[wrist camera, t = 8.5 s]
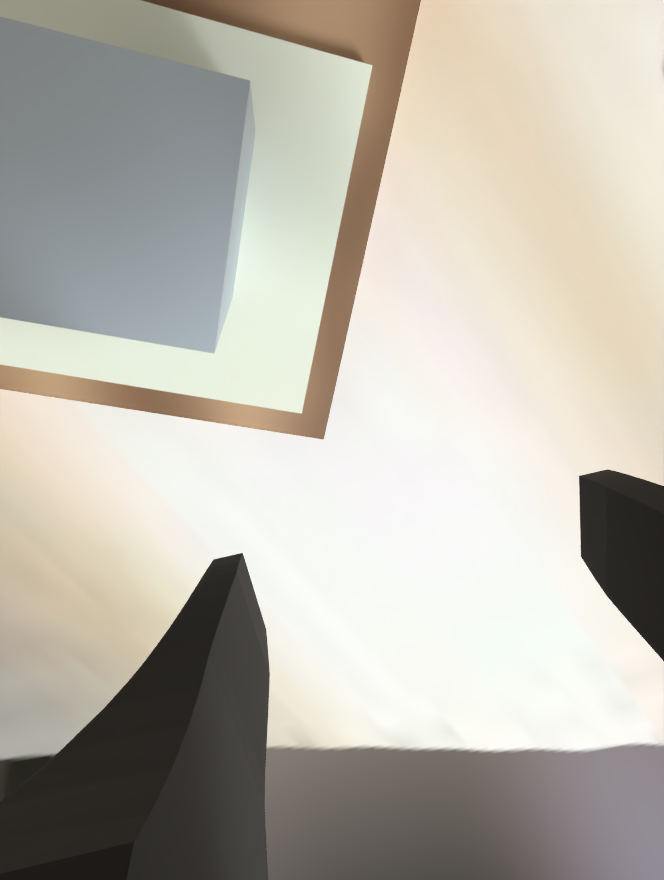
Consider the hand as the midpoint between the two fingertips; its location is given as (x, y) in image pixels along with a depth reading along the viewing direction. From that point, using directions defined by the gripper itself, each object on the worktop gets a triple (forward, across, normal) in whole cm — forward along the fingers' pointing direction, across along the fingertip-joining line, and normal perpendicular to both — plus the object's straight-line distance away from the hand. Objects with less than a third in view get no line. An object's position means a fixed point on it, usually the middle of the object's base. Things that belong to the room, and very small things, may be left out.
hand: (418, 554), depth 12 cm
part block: (+8, +4, -8) cm, 12 cm away
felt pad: (+8, +4, -7) cm, 12 cm away
